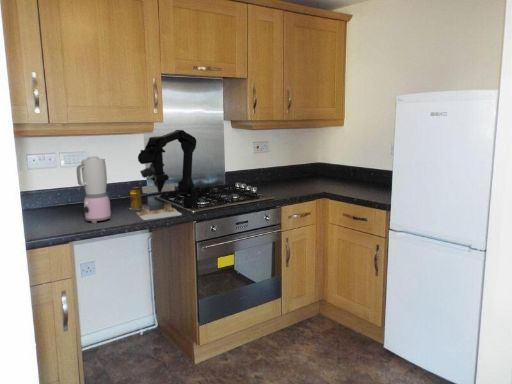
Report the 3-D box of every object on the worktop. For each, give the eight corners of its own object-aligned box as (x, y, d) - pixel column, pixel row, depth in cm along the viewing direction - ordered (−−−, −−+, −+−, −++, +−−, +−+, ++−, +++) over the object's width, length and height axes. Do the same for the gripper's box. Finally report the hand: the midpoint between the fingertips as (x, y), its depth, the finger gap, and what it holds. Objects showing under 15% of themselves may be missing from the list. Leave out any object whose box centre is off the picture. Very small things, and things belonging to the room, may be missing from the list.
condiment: (127, 209, 239) (126, 188, 237) (137, 206, 247) (136, 185, 244) (138, 210, 236) (136, 188, 234) (147, 207, 244) (146, 186, 241)
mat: (177, 212, 230) (177, 210, 230) (181, 215, 223) (181, 214, 223) (139, 216, 221) (139, 215, 221) (143, 220, 214) (143, 219, 214)
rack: (173, 209, 236) (173, 201, 235) (176, 211, 231) (176, 203, 230) (136, 214, 227) (136, 205, 226) (139, 216, 221) (138, 207, 220)
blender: (101, 216, 224) (96, 155, 218) (116, 219, 217) (111, 156, 211) (74, 222, 211) (67, 158, 205) (89, 226, 205) (83, 159, 198)
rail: (173, 189, 225) (172, 183, 224) (174, 190, 222) (174, 184, 222) (142, 192, 218) (142, 186, 217) (143, 193, 215) (143, 187, 214)
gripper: (137, 161, 222) (139, 190, 225) (145, 164, 205) (147, 196, 208) (158, 159, 227) (160, 188, 230) (168, 163, 210) (169, 194, 213)
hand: (158, 192), depth 220 cm, fingers closed on rail, 3 cm apart
